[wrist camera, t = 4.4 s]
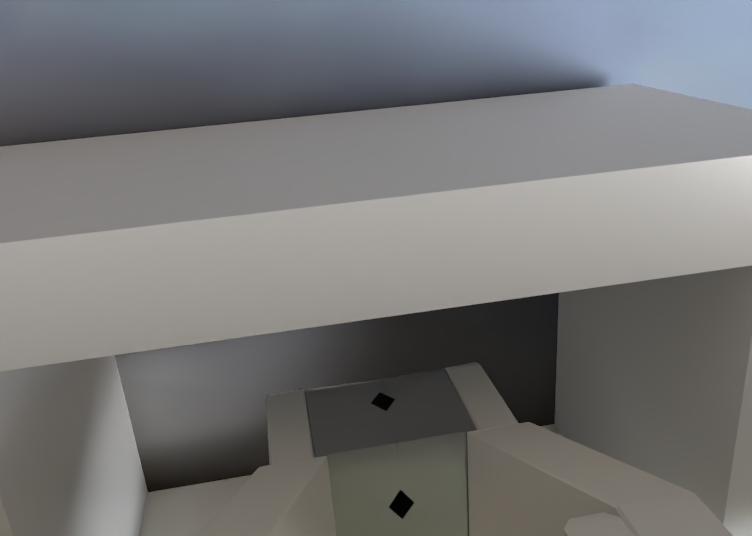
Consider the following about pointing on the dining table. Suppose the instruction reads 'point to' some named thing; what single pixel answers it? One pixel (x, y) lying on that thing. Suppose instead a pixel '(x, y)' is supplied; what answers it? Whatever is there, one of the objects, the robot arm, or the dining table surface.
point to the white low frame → (381, 276)
